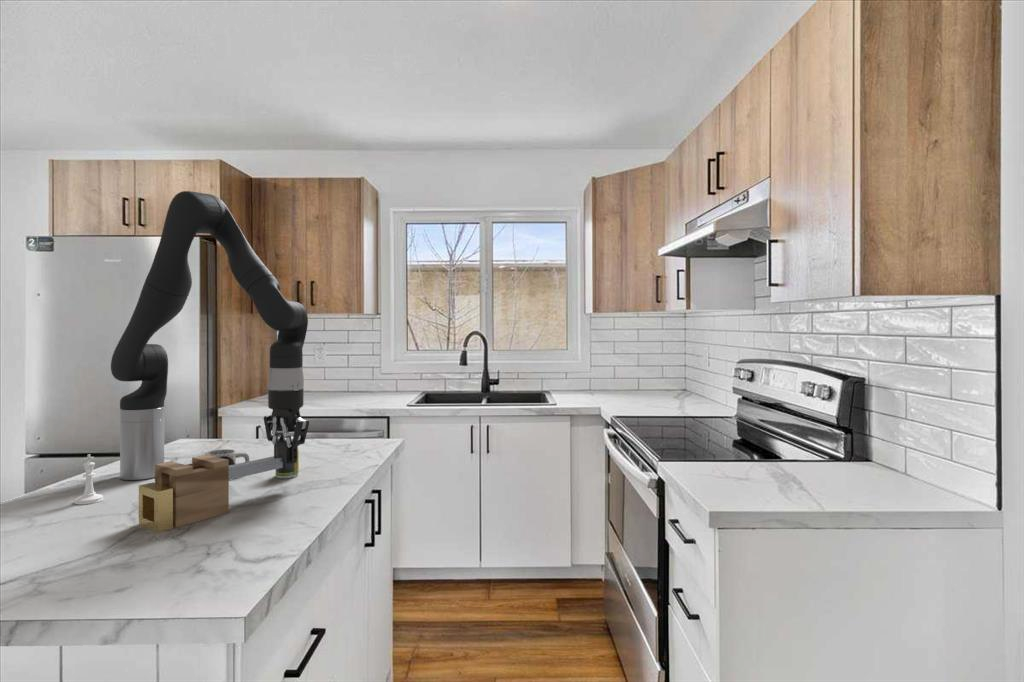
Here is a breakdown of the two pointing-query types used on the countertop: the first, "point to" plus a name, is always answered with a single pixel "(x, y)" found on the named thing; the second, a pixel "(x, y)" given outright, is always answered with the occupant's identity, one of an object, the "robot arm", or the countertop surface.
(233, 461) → the mug
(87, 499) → the chess piece
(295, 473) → the supplement bottle
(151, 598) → the countertop surface
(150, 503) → the block
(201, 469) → the bearing block
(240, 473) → the shaft
